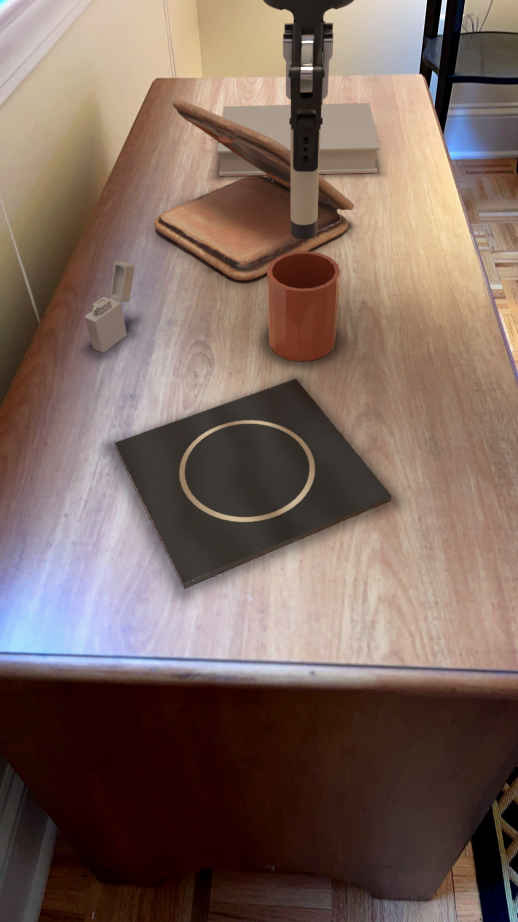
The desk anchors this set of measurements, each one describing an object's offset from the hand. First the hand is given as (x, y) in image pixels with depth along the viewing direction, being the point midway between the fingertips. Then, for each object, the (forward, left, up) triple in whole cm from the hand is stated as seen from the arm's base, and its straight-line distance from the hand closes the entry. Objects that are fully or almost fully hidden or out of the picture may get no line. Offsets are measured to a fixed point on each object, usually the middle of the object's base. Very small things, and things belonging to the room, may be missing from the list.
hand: (305, 160), depth 62 cm
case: (-6, -25, -20) cm, 33 cm away
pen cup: (0, 0, -20) cm, 20 cm away
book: (-23, -44, -20) cm, 54 cm away
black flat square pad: (+14, +15, -20) cm, 29 cm away
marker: (0, 0, -7) cm, 7 cm away
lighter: (+18, -11, -21) cm, 29 cm away
